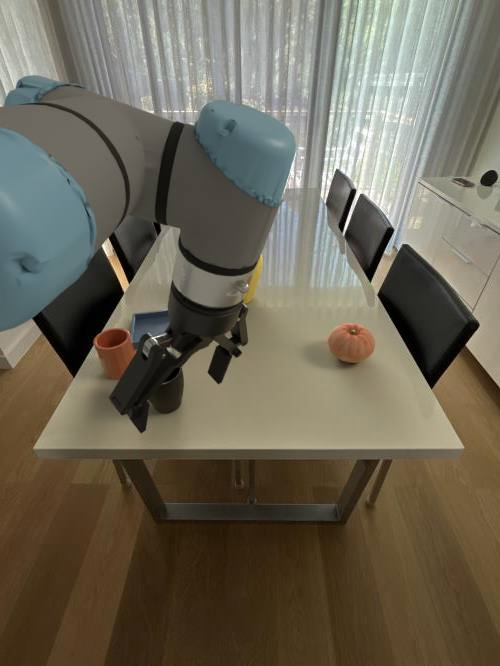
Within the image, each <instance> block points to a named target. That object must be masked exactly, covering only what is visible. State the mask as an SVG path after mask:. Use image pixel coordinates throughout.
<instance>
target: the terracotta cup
mask: <svg viewBox="0 0 500 666" xmlns="http://www.w3.org/2000/svg"><path fill="white" fill-rule="evenodd" d="M130 334H131V332H130V331H129V330H127V329H125V328H123V327H122V328H121V327H114V328H113V327H112V328H107V329H105V330H102V331H101V332H100V333H98V334H97V335H96V336H95V337H94V339H93V346H94V349H95V352H96V355H97V357H98V360H99V362H100V365H101V368H102V371H103V373H104V375H105V377H106V378H108V379H110V380H114V381H115V380H116V381H117V380H118V381H119V380H120V378H121V377H122V375H123V373H124V372H125V370H126V368H127V367H128V365H129V363H130V362H131V360H132V358H133V357H134V355H135V353H136V350H134V346H133V342H132V339H131V335H130Z"/></svg>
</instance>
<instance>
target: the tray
mask: <svg viewBox="0 0 500 666" xmlns="http://www.w3.org/2000/svg"><path fill="white" fill-rule="evenodd" d="M131 317H132V318H131V326H130V335H131V339H132V342H133V346H134V350H135V351H137V349H138V345H139V341H140V338H141V336H142V335H144V334H145V333H150V334H151V335H152V337H153V338H155V337H157V336H160V335H163V334H164V332H165V330H166V329H167V327H168V325H169V323H170V319H169V314H168V308H167V309H159V310H152V311H142V312H135V313H132V316H131Z"/></svg>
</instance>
